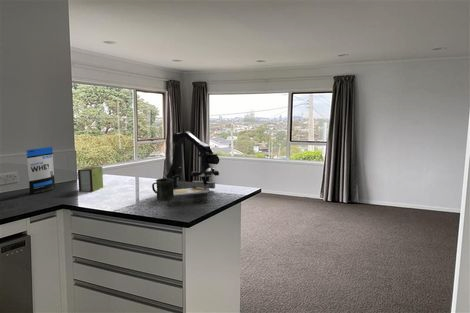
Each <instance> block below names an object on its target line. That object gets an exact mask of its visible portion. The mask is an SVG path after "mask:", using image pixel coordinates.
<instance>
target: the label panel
mask: <svg viewBox="0 0 470 313" xmlns="http://www.w3.org/2000/svg"><path fill="white" fill-rule="evenodd" d="M173 191H174V197H175V196H176V197H177V196H185V195H186V196H187V195H195V194H196V195H197V194H206V193H207V194H208V193H210V190H208V189H207V188H196V187H189V188H177V189H173Z"/></svg>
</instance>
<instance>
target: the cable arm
mask: <svg viewBox="0 0 470 313" xmlns="http://www.w3.org/2000/svg"><path fill="white" fill-rule="evenodd" d="M193 187H196V188H205V189H212V190H213V189H216V182H214V181H207V183H206V186H204V184H203V181H202V180H192V181H191V188H193Z"/></svg>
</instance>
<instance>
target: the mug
mask: <svg viewBox="0 0 470 313" xmlns="http://www.w3.org/2000/svg"><path fill="white" fill-rule="evenodd" d="M173 181H174V179H170V178H167V177H166V178H163V177H162V178H158V179H155V182H153V183H152V185H151V188H152V191H153V192H154V193H155V194H156V199H157V200H159V201H169V200H173V199H174V197H175V196H174V191H173V190H174V187H173ZM155 185H156V189H155Z"/></svg>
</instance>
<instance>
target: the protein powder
mask: <svg viewBox="0 0 470 313" xmlns="http://www.w3.org/2000/svg"><path fill="white" fill-rule="evenodd" d="M26 160H27V161H26V163H27V174H28V187H29V195H30V196H31V195H33V196H34V195H39V194H44V193H49V192H51V191H53V190H55V188H56V184H55V168H54V167H55V166H54V152H53V146H47V147H41V148H32V149H27V150H26Z"/></svg>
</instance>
